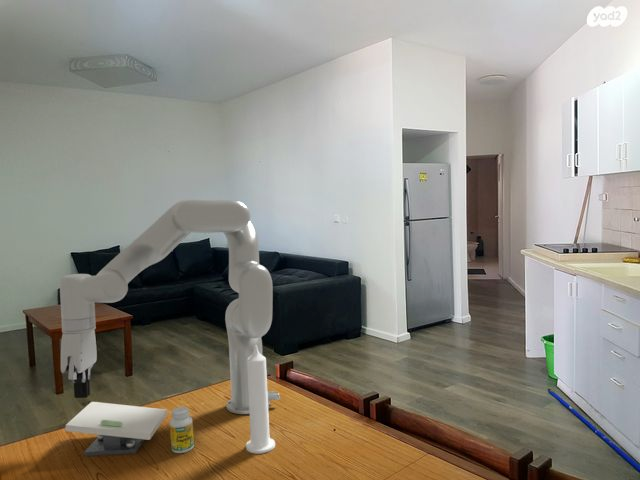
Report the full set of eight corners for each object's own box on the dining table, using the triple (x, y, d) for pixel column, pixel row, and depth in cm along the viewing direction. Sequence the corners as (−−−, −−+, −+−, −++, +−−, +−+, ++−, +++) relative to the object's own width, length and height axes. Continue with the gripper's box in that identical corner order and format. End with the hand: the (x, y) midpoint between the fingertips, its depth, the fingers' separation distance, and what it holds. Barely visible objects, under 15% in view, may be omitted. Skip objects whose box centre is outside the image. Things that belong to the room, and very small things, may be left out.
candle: (279, 441, 121) (275, 341, 119) (267, 455, 115) (262, 350, 113) (254, 438, 124) (249, 340, 122) (240, 451, 117) (235, 348, 115)
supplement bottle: (190, 441, 123) (187, 403, 123) (197, 449, 119) (195, 410, 118) (168, 447, 120) (166, 409, 120) (175, 456, 116) (172, 416, 115)
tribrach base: (152, 429, 131) (151, 413, 131) (135, 453, 118) (133, 436, 118) (106, 431, 131) (105, 415, 130) (84, 456, 118) (83, 438, 117)
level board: (166, 415, 131) (167, 405, 131) (149, 439, 117) (150, 428, 117) (91, 407, 131) (92, 397, 131) (65, 431, 117) (66, 420, 117)
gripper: (77, 318, 129) (81, 386, 130) (47, 331, 114) (51, 409, 116) (106, 317, 130) (109, 385, 131) (80, 331, 115) (83, 408, 116)
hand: (82, 396), depth 123 cm, fingers closed
